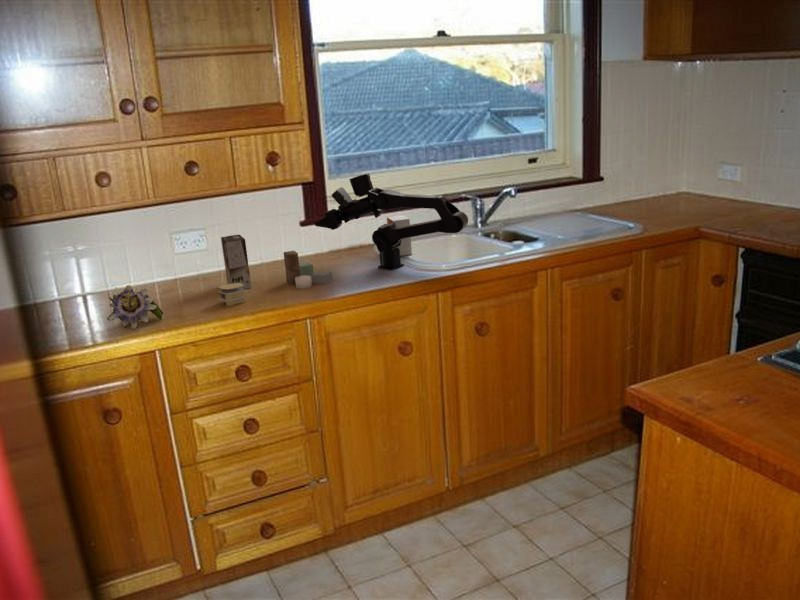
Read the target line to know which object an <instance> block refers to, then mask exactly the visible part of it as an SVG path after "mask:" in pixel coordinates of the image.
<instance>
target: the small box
mask: <svg viewBox="0 0 800 600" xmlns="http://www.w3.org/2000/svg"><path fill="white" fill-rule="evenodd" d="M394 222H395V224H396V226H399V227H402V226H407V225H411V221H410V218H409V217H407V216H405V215H402V214H401V215H393V216H386V224H391V223H394ZM401 240H402V242H401V245H400V246H399V247H397V248H398V249H400V255H401V256H402V257H403V256H411V255H412V254H413V251H412V237H409V238H404V239H401ZM401 256H400V257H401Z"/></svg>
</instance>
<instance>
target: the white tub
mask: <svg viewBox="0 0 800 600" xmlns="http://www.w3.org/2000/svg"><path fill="white" fill-rule="evenodd" d="M295 283H296V285H295V288H296V289H303V290H304V289H309V288H312V287H313V283H312V279H311V276H309V275H302V276H297V277H295Z"/></svg>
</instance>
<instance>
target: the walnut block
mask: <svg viewBox="0 0 800 600" xmlns="http://www.w3.org/2000/svg"><path fill="white" fill-rule="evenodd" d="M283 260H284V268H285V269H284V270H285V276H286V277H285V278H286V283H287V284H288V285H289V286H294V285H295V286H296V283H295V277H297V276H300V268H299V263H300V262H299V261H300V260H299V253H298V252H297V251H295V250H289V251H288V250H287V251H283Z"/></svg>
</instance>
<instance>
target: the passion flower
mask: <svg viewBox="0 0 800 600" xmlns="http://www.w3.org/2000/svg"><path fill="white" fill-rule="evenodd" d="M148 291H149V290H148V288H143V289H141V290H139V291H137V290H134V288H133V287H132V286H131V285H129V284H127V285H126V286H125V288H124V290H123V291H120V293H118V294H113V295H112V297H113V298H112V297H111V296H109V300H110V301H111V303H109V307H111V308H112V313H111V314H109V315H108V317H107V321H113V320H116V319H119V320H120V322H121V326H122V328H126V327H131V330H132V331H133V330H136V329H137V326H138V322H139V321H141V322H143V323H146V324H147V323H148V322H149V314H148V312H151V313H152V314H153V315H155V317H156V318H157V319H158V320H160V321H162V319H163V315H164V312H163V310H162V309H161V308H160V306H159V305H158V304H157V302H155V301H154V300H155V297H153V296H149V294H148Z"/></svg>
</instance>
